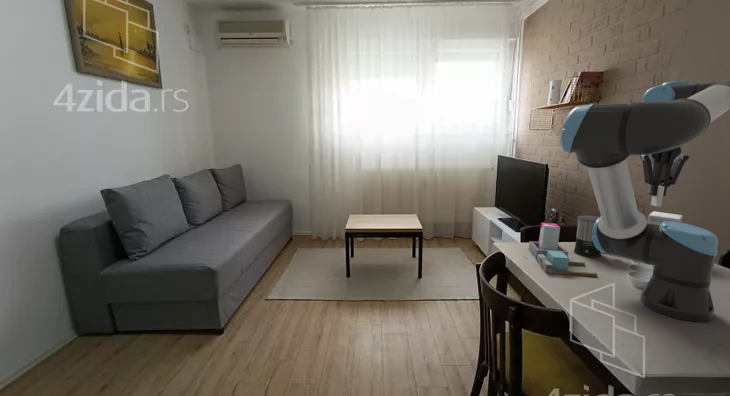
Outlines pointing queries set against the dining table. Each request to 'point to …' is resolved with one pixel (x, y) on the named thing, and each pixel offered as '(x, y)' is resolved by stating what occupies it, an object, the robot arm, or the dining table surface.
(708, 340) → the dining table surface
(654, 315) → the dining table surface
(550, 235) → the supplement box
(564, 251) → the tray
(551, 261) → the block
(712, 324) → the dining table surface
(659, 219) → the supplement box
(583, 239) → the milk frother
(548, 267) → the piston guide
